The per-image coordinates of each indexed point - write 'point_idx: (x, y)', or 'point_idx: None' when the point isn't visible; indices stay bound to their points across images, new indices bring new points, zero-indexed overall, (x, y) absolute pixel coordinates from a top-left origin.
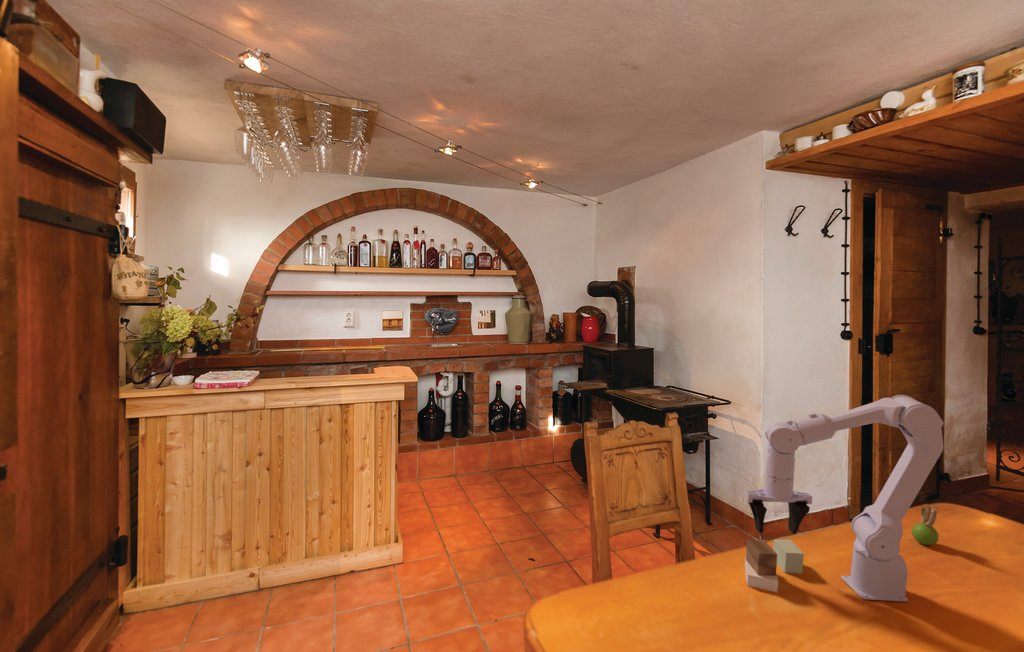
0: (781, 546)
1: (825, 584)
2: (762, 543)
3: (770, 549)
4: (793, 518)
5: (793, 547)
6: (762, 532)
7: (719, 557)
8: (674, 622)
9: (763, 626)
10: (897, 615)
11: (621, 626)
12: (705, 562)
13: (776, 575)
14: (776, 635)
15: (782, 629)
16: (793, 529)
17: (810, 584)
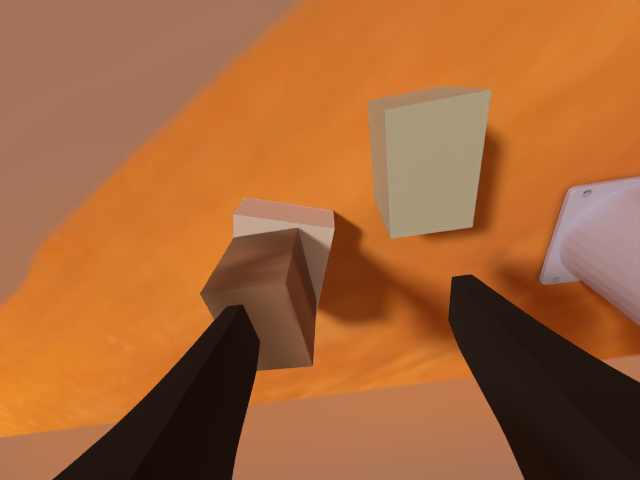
0: (393, 187)
1: (478, 234)
2: (269, 312)
3: (295, 344)
4: (516, 413)
5: (455, 180)
6: (257, 346)
7: (154, 158)
8: (117, 395)
9: (261, 380)
10: (572, 313)
11: (47, 410)
12: (115, 205)
13: (318, 297)
14: (279, 391)
15: (293, 380)
16: (461, 344)
17: (428, 244)
